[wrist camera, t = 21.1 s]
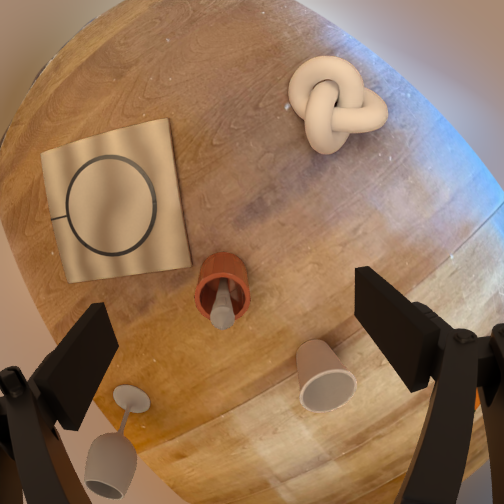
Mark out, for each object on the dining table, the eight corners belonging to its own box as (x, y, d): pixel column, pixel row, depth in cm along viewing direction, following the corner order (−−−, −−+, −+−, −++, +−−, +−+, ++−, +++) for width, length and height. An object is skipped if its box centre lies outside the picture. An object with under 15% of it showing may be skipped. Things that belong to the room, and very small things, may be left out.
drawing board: (70, 281, 42) (67, 283, 41) (43, 153, 36) (39, 153, 35) (192, 264, 42) (191, 267, 41) (169, 118, 36) (167, 117, 35)
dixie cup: (292, 378, 49) (303, 419, 40) (283, 340, 47) (295, 380, 37) (339, 365, 49) (358, 403, 40) (334, 326, 47) (356, 362, 37)
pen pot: (204, 297, 44) (200, 325, 36) (196, 255, 42) (189, 276, 34) (249, 291, 44) (253, 319, 36) (243, 248, 42) (246, 269, 34)
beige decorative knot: (347, 170, 40) (377, 174, 31) (266, 136, 38) (276, 129, 29) (373, 99, 37) (405, 88, 29) (295, 62, 35) (312, 39, 27)
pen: (216, 285, 42) (211, 341, 29) (213, 267, 42) (206, 318, 28) (234, 283, 43) (237, 338, 29) (231, 265, 42) (233, 314, 28)
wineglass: (148, 386, 48) (121, 483, 28) (154, 414, 50) (134, 505, 30) (108, 381, 47) (71, 471, 27) (117, 409, 50) (88, 495, 29)
